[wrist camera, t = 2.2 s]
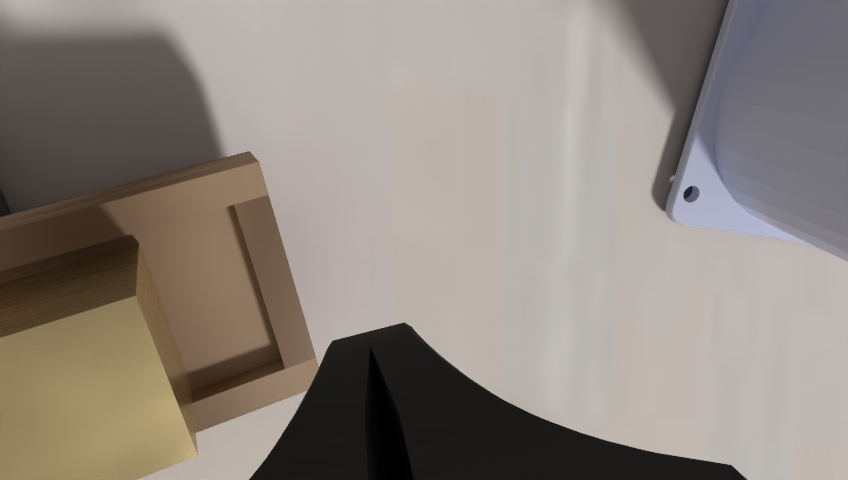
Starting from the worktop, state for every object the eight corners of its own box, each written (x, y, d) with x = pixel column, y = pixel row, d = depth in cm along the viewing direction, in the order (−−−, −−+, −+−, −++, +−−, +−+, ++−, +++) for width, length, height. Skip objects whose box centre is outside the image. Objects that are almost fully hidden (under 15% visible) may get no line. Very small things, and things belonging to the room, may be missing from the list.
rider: (139, 243, 15) (135, 296, 12) (189, 376, 16) (198, 455, 13) (-170, 332, 13) (-267, 422, 10) (-87, 474, 15) (-151, 591, 11)
